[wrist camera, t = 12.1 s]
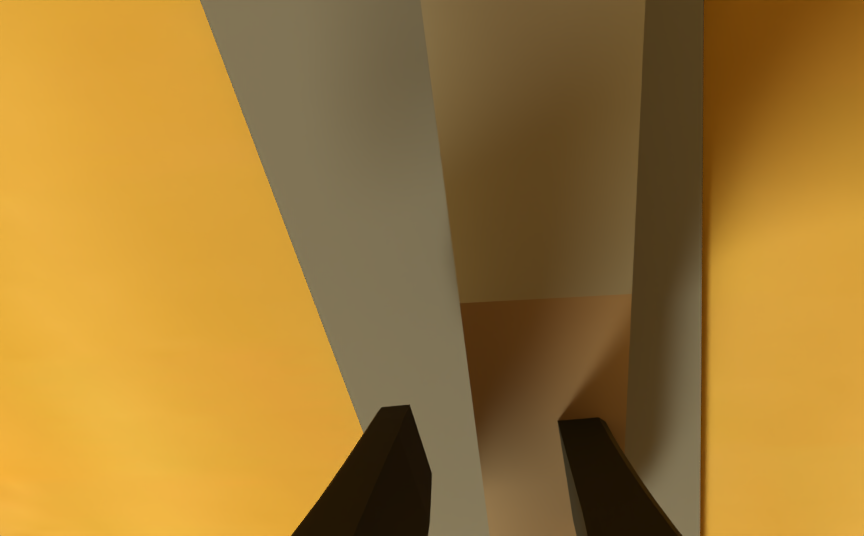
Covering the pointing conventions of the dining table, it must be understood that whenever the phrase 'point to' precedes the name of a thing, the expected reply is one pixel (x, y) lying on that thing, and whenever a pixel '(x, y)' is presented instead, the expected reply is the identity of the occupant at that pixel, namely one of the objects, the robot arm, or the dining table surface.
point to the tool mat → (430, 231)
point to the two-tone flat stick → (539, 228)
